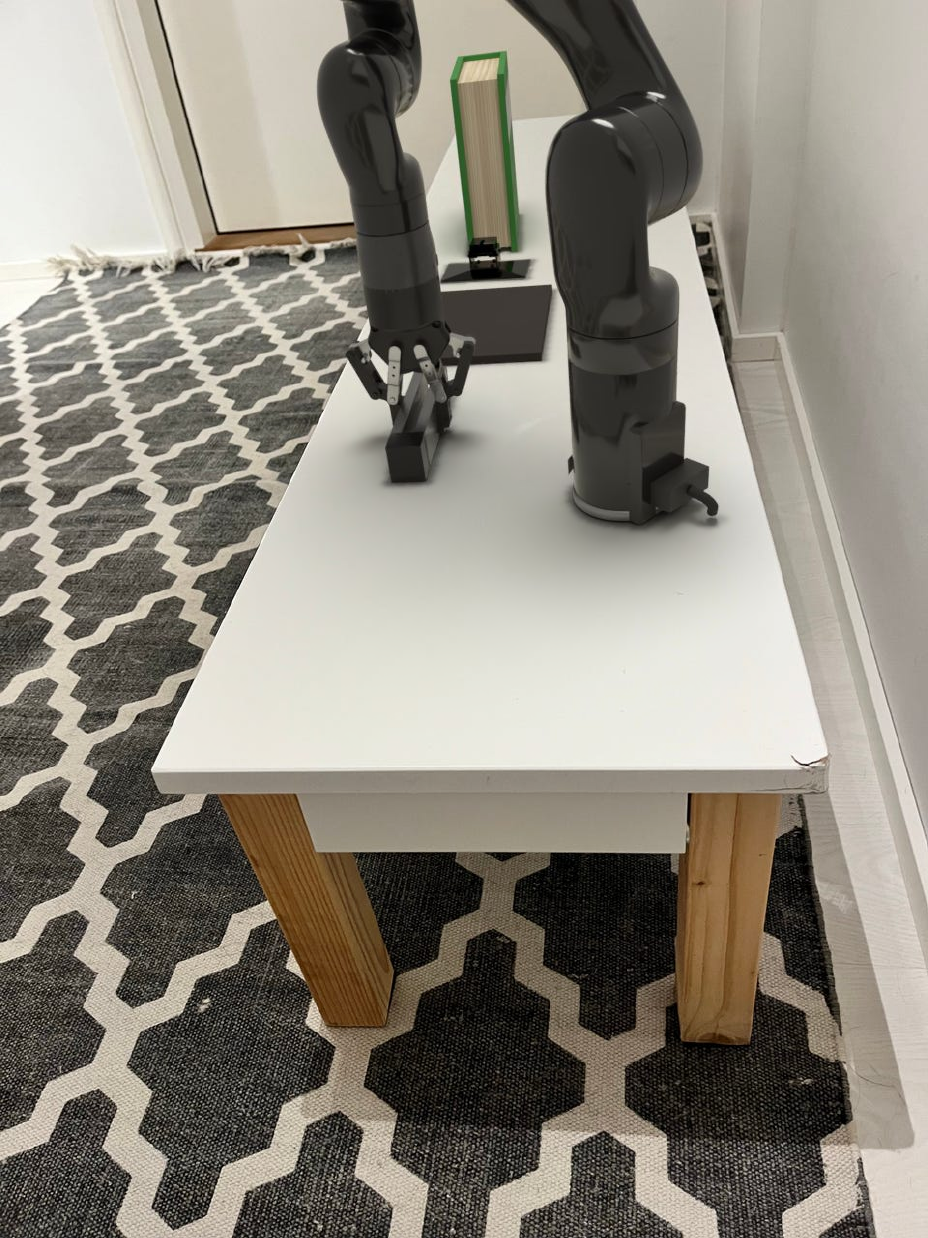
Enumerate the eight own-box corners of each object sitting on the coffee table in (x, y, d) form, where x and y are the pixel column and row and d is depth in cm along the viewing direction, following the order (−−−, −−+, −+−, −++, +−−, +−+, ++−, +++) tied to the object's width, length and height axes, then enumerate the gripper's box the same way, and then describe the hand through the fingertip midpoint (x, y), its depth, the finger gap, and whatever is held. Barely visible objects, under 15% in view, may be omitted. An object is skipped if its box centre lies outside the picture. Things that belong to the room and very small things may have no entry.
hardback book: (517, 251, 146) (503, 73, 131) (469, 256, 147) (449, 79, 132) (519, 215, 160) (506, 50, 145) (475, 219, 160) (457, 56, 145)
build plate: (440, 283, 139) (435, 251, 137) (449, 265, 145) (445, 234, 142) (525, 278, 137) (522, 245, 134) (531, 260, 142) (528, 228, 139)
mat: (541, 360, 115) (541, 352, 115) (411, 367, 118) (410, 359, 117) (552, 291, 132) (551, 283, 131) (437, 298, 135) (436, 291, 134)
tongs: (426, 481, 96) (420, 446, 94) (391, 482, 97) (384, 447, 94) (450, 398, 110) (446, 365, 107) (420, 399, 111) (415, 367, 108)
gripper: (320, 291, 92) (353, 450, 102) (466, 281, 89) (484, 445, 100) (338, 263, 97) (368, 417, 108) (476, 253, 95) (492, 411, 106)
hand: (424, 429), depth 104 cm, fingers closed on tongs, 3 cm apart
